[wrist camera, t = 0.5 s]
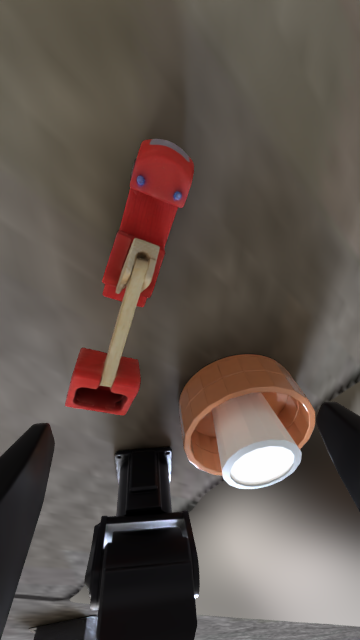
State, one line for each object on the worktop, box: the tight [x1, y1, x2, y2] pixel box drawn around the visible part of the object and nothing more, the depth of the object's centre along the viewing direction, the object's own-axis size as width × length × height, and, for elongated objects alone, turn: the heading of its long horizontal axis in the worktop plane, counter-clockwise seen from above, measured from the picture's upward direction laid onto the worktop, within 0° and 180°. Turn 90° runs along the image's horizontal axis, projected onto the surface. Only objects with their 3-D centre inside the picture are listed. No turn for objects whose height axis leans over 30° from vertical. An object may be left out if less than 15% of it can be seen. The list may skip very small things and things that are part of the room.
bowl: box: [179, 354, 315, 476], centre depth 26 cm, size 12×12×4 cm
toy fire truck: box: [65, 139, 194, 415], centre depth 15 cm, size 3×14×10 cm, turn 159°
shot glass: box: [212, 392, 302, 489], centre depth 25 cm, size 7×7×7 cm
